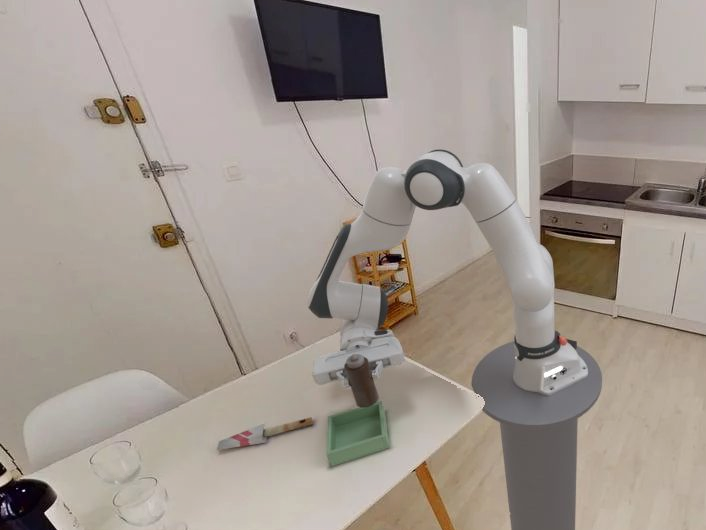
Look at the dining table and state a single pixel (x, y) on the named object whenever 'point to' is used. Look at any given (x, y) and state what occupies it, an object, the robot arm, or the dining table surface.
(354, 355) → the pepper mill
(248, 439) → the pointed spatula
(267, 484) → the dining table surface
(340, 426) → the tray
